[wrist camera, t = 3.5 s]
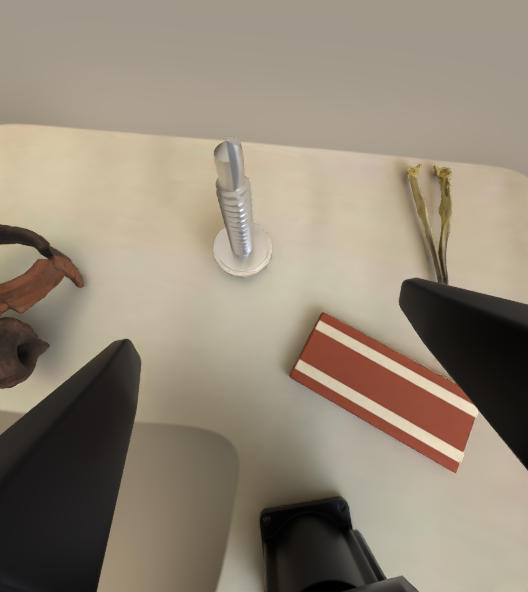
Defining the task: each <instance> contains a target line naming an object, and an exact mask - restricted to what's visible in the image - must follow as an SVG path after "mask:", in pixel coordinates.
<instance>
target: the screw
mask: <svg viewBox="0 0 528 592" xmlns="http://www.w3.org/2000/svg"><path fill="white" fill-rule="evenodd" d="M225 137H226V141H224V142H222V143H221V144H219V145H218V146H217V147H216V148H215V150H214V161H215V166H216V170H217V174H218V178H217V181H216V188H217V191H216V193H217V197H218V201H219V204H220V208H221V212H222V215H223V219H224V223H225V227H224V228H223V229H222V230H221V231H220V232H219V233H218V235H217V236H216V238H215V241H214V247H213V251H214V256H215V259H216V261H217V263H218V264H219V266H220V267H221V268H222V269H223V270H224V271H225V272H227V273H229V274H231V275H234V276H239V277H247V276H251V275H254V274H256V273H258V272H260V271H261V270H262V269H263V268H265V266H266V265H267V264H268V262H269V260H270V258H271V253H272V243H271V240H270V237H269V235H268V234H267V232H266V231H265V230H264V229H263V228H262V227H260V226H259V225H257V224H255V223H253V215H252V198H251V195H252V194H251V187H250V182H249V178H247V177H246V176H245V172H244V160H243V152H242V147H241V143H240V141H239V140H238V139H236V138H235V137H232V136H225Z"/></svg>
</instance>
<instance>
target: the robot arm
mask: <svg viewBox="0 0 528 592" xmlns="http://www.w3.org/2000/svg"><path fill="white" fill-rule="evenodd" d="M399 305H400V308H401V309H402V311H403V312H404V314H405V315H406V317H407V319H408V320H409V322H410V323H411V325H412V326H413V328H414V329H415V331H416V332H417V334H418V335H419V337H420V338H421V340H422V341H423V343H424V344H425V345H426V347H427V348H428V349H429V350H430V352H431V353H432V354H433V355H434V356H435V358H436V359H437V360H438V361H439V363H440V364H441V365H442V366H443V367H444V369H445V370H446V371H447V372H448V374H449V375H450V376H451V377H452V378H453V380H454V381H455V382H456V383H457V385H458V386H459V387H460V388H461V389H462V391H463V392H464V393H465V394H466V396H467V397H468V398H469V399H470V400H471V402H472V403H473V404H474V405H475V407H476V408H477V409H478V410H479V411H480V413H481V414H482V415H483V416H484V418H485V419H486V420H487V421H488V422H489V424H490V425H491V426H492V427H493V429H494V430H495V431H496V432H497V433H498V435H499V436H500V437H501V438H502V440H503V441H504V442H505V443H506V444H507V446H508V447H509V448H510V449H511V451H512V452H513V453H514V454H515V455H516V457H517V458H518V459H519V460H520V462H521V463H522V464H523V465H524V466H525V468H526V469H527V470H528V304H523V303H519V302H515V301H511V300H507V299H503V298H499V297H494V296H490V295H486V294H482V293H478V292H474V291H470V290H466V289H461V288H457V287H453V286H449V285H445V284H441V283H437V282H432V281H428V280H424V279H420V278H412V279H407V280H405V281H403V283H402V286H401V291H400V297H399ZM140 372H141V358H140V356H139V354H138V352H137V351H136V349H135V347H134V345H133V344H132V342H131V341H130V340H129V339H122V340H117V341H114V342H113V343H111V344H110V345H109V346H108V347H107V348H105V349H104V350H103V351H102V352H100V353H99V354H98V355H97V356H96V357H94V358H93V359H92V360H91V361H90V362H88V363H87V364H86V365H85V366H83V367H82V368H81V369H80V370H79V371H77V372H76V373H75V374H74V375H73V376H71V377H70V378H69V379H68V380H66V381H65V382H64V383H63V384H62V385H60V386H59V387H58V388H57V389H56V390H54V391H53V392H52V393H51V394H50V395H48V396H47V397H46V398H45V399H43V400H42V401H41V402H40V403H39V404H37V405H36V406H35V407H34V408H33V409H31V410H30V411H29V412H28V413H26V414H25V415H24V416H23V417H22V418H20V419H19V420H18V421H17V422H16V423H14V424H13V425H12V426H11V427H10V428H8V429H7V430H6V431H5V432H4V433H2V434H1V435H0V592H97V588H98V583H99V578H100V574H101V569H102V565H103V560H104V556H105V551H106V546H107V541H108V537H109V533H110V528H111V524H112V519H113V515H114V510H115V505H116V501H117V497H118V492H119V487H120V483H121V478H122V473H123V469H124V465H125V460H126V455H127V451H128V446H129V442H130V437H131V433H132V428H133V424H134V419H135V414H136V409H137V402H138V392H139V382H140ZM340 504H343V508H341V509H340V508H338V506H339V505H340ZM266 516H267V517H269V518H270V519H269V520H268V521H265V520H264V519H263V518H264V517H266ZM260 530H261V539H262V548H263V557H264V570H265V592H419V591H418V590H417V589H416V588H415V587H414V586H412V585H411V584H410V583H409V582H408V581H407V580H406V579H405V578H404V577H403V576H398V577H395V578H390V579H386V577H385V575H384V573H383V572H382V570H381V568H380V566H379V564H378V563H377V561H376V559H375V557H374V556H373V554H372V552H371V550H370V548H369V547H368V545H367V543H366V541H365V540H364V538H363V536H362V534H361V533H360V532H359V531H358V530H353V529H352V524H351V518H350V512H349V507H348V504H347V502H346V500H345V499H344V498H342V497H335V498H329V499H323V500H317V501H311V502H305V503H299V504H293V505H287V506H281V507H275V508H269V509H265V510H263V511H262V512H261V513H260Z"/></svg>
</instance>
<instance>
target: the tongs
mask: <svg viewBox="0 0 528 592" xmlns="http://www.w3.org/2000/svg"><path fill="white" fill-rule="evenodd" d="M420 167H421V164H419V165H417V166H416V167H413V166H409V167H408V170H407V172H408V179H409V181H410V183H411V188H412V192H413V196H414V200H415V203H416V207H417V212H418V215H419V217H420V218H421V220H422V223H423V226H424V229H425V233H426V238H427V240H428V243H429V247H430V250H431V253H432V256H433V260H434V265H435V270H436V275H437V280H438V283H441V284H445V285H448V275H447V268H446V247H447V240H448V236H449V233H450V224H451V218H452V198H451V184H450V182H449V181H450V180H451V178H452V176H451V173H452V172H450V168H446V167H442V168H438V167H437V166H436V165H434V166H433V168H434V170H435V171H434V174H435V175H436V176H437V177H438V178H439V181H440V187H441V204H440V207H439V214H440V216H441V235H440V242H439V250H438V249H437V244H436V240H435V236H434V233H433V231H432V228H431V226H430V223H429V219H428V215H427V211H426V203H425V199H424V197H423V195H422V192H421V190H420V186H419V183H418V180H417V178H415V176H417V175H418V172H419V169H420ZM448 186H449V187H448ZM447 187H448V189H447Z"/></svg>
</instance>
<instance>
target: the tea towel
mask: <svg viewBox="0 0 528 592" xmlns="http://www.w3.org/2000/svg"><path fill="white" fill-rule="evenodd" d="M289 377H290V378H292V379H294V380H295V381H297V382H299V383H301V384H302V385H304V386H306V387H308V388H309V389H311V390H313V391H314V392H316V393H318V394H320V395H321V396H323V397H325V398H327V399H328V400H330V401H332V402H333V403H335V404H337V405H339V406H340V407H342V408H344V409H346V410H347V411H349V412H351V413H352V414H354V415H356V416H358V417H359V418H361V419H363V420H364V421H366V422H368V423H370V424H371V425H373V426H375V427H377V428H378V429H380V430H382V431H383V432H385V433H387V434H389V435H390V436H392V437H394V438H396V439H397V440H399V441H401V442H402V443H404V444H406V445H408V446H409V447H411V448H413V449H415V450H416V451H418V452H420V453H421V454H423V455H425V456H427V457H428V458H430V459H432V460H434V461H435V462H437V463H439V464H440V465H442V466H444V467H446V468H447V469H449V470H451V471H452V472H454V473H456V472H457V469H458V466H459V463H461V461H462V458H463V455H464V453H463V452H464V449H465V446H466V443H467V440H468V437H469V434H470V432H471V429H472V426H473V423H474V420H475V418H477V415H478V412H479V410H478V409H477V408H476V407H475V405H474V404H473V403H472V402H471V400H470V399H469V398H468V397H467V396H466V394H465V393H464V392H463V391H462V389H461V388H460V387H459V386H458V385H456V384H454V383H453V382H451V381H449V380H447V379H445V378H443V377H442V376H440V375H438V374H436V373H434V372H432V371H431V370H429V369H427V368H425V367H423V366H421V365H420V364H418V363H416V362H414V361H412V360H410V359H409V358H407V357H405V356H403V355H401V354H399V353H398V352H396V351H394V350H392V349H390V348H388V347H387V346H385V345H383V344H381V343H379V342H377V341H376V340H374V339H372V338H370V337H368V336H366V335H365V334H363V333H361V332H359V331H357V330H356V329H354V328H352V327H350V326H348V325H346V324H345V323H343V322H341V321H339V320H337V319H335V318H334V317H332V316H330V315H328V314H326V313H324V312H323V313H321V315H320V317H319V319H318V321H317V323H316V325H315V327H314V329H313V331H312V332H311V334H310V336H309V338H308V340H307V342H306V344H305V346H304V348H303V350H302V352H301V354H300V356H299V358H298V360H297V362H296V363H295V365H294V367H293V369H292V371H291V373H290V375H289Z"/></svg>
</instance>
